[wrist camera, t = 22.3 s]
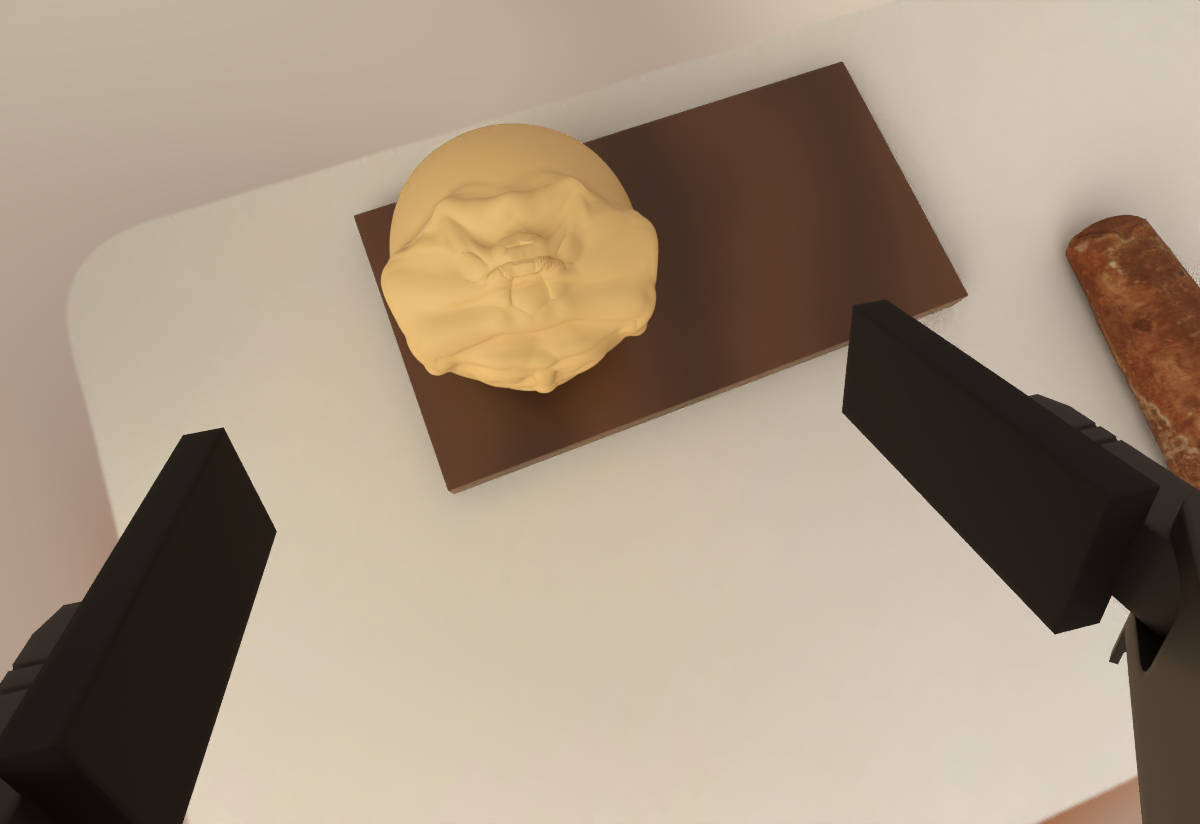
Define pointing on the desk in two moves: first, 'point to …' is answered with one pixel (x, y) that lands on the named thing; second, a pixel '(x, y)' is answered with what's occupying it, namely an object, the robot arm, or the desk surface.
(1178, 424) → the bread
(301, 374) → the desk surface
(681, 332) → the cutting board
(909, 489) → the desk surface
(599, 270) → the sculpture
